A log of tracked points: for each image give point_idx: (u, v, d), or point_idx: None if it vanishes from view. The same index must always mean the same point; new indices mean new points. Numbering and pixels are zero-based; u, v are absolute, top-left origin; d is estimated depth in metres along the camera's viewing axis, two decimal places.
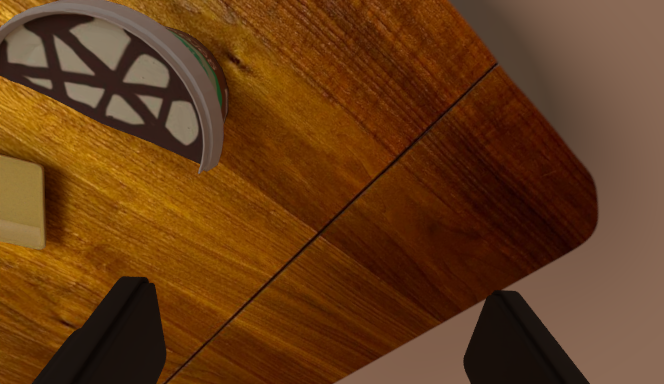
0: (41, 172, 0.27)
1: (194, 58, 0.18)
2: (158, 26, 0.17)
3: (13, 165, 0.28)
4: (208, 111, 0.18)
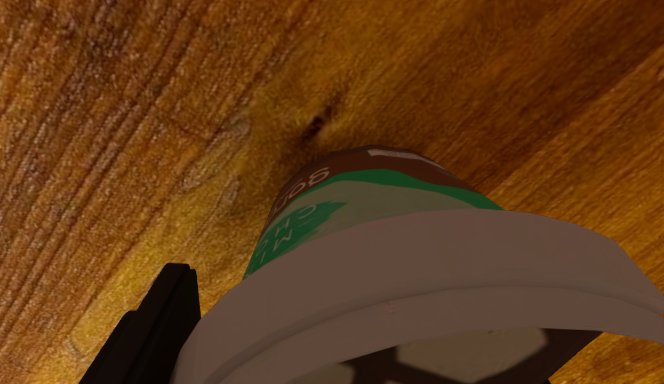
0: None
1: (273, 266, 0.06)
2: (195, 338, 0.06)
3: None
4: (448, 278, 0.05)
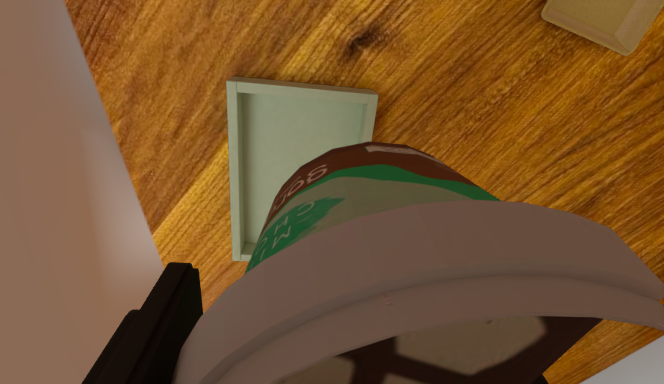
0: None
1: (271, 262, 0.06)
2: (195, 336, 0.06)
3: None
4: (445, 268, 0.05)
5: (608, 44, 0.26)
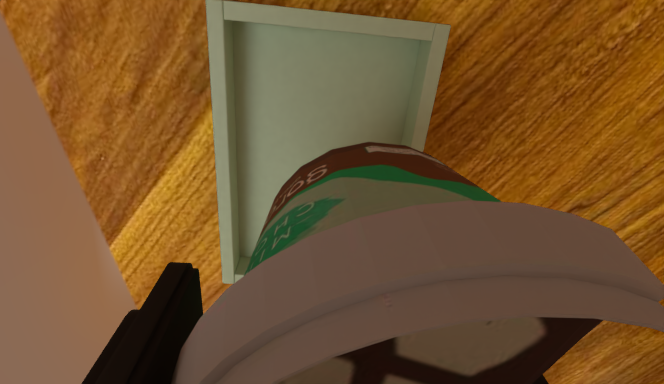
0: None
1: (271, 263, 0.06)
2: (195, 337, 0.06)
3: None
4: (444, 269, 0.05)
5: None
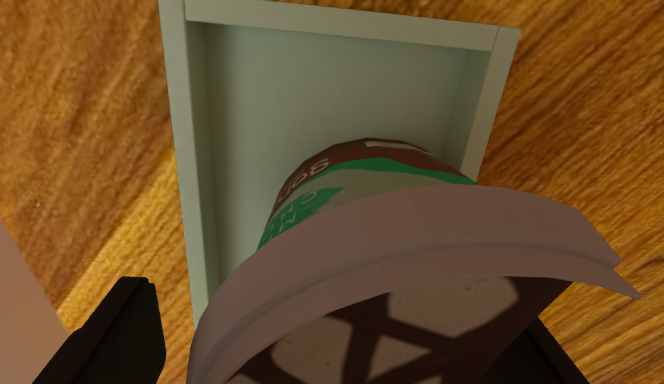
0: None
1: (280, 239, 0.07)
2: (213, 305, 0.07)
3: None
4: (427, 239, 0.06)
5: None
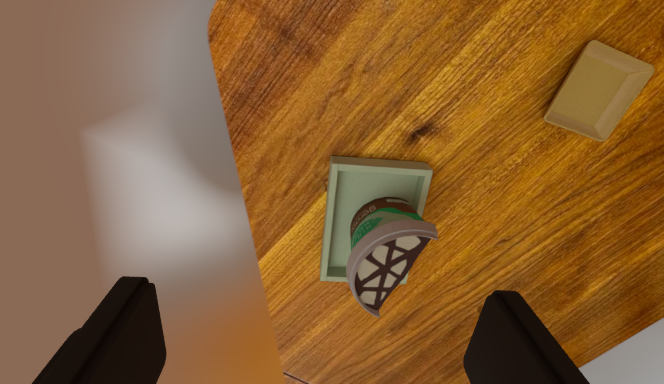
0: (596, 40, 0.33)
1: (373, 230, 0.34)
2: (358, 244, 0.34)
3: (574, 73, 0.36)
4: (402, 230, 0.33)
5: (589, 135, 0.38)
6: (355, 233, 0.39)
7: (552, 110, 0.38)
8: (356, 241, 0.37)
